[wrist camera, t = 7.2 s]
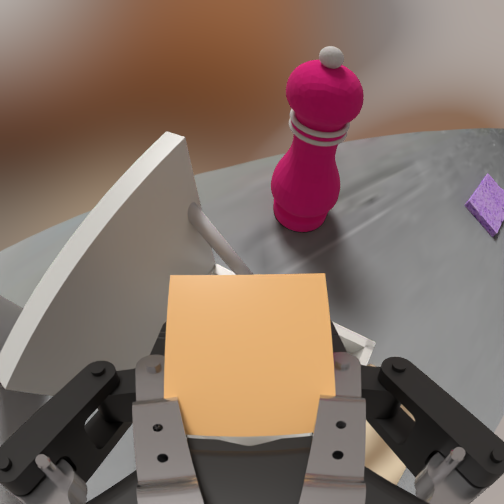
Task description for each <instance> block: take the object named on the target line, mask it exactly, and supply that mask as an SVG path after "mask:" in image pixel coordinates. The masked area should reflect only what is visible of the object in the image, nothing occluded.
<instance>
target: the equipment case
mask: <svg viewBox="0 0 504 504" xmlns="http://www.w3.org/2000/svg"><path fill="white" fill-rule="evenodd" d="M211 247H212V248H213V249H214V250H215V252H216V253H217V254H218V255H219V256H220V257H221V258H222V260H223V261H224V262H225V263H226V264H227V265H228V266H229V268H230V269H231V270H232V271H233V272H232V271H230V270H228V269H226V268H224V267H222V266H220V265H218V264H216V263H215V259H214V256H213V252H212V248H211ZM170 275H254V274H253V273H252V272H251V271H250V269H249V268H248V267H247V266H246V265H245V263H244V262H243V261H242V260H241V258H240V257H239V256H238V255H237V254H236V252H235V251H234V250H233V249H232V247H231V246H230V245H229V244H228V243H227V241H226V240H225V239H224V238H223V236H222V235H221V234H220V233H219V231H218V230H217V229H216V228H215V227H214V225H213V224H212V223H211V222H210V220H209V219H208V218H207V217H206V215H205V214H204V213H203V212H202V208H201V204H200V200H199V196H198V192H197V187H196V183H195V179H194V174H193V170H192V166H191V161H190V157H189V152H188V148H187V143H186V139H185V137H183V136H180V135H176V134H173V133H170V132H165V133H164V134H163V135H162V136H161V137H160V138H159V139H158V140H157V141H156V142H155V143H154V144H153V145H152V146H151V147H150V148H149V149H148V150H147V151H146V152H145V153H144V154H143V155H142V156H141V157H140V158H139V159H138V160H137V161H136V162H135V163H134V164H133V165H132V166H131V167H130V168H129V169H128V170H127V171H126V172H125V173H124V174H123V175H122V177H121V178H120V179H119V180H118V181H117V182H116V183H115V184H114V186H112V188H111V189H110V190H109V191H108V192H107V193H106V195H105V196H104V197H103V198H102V199H101V200H100V202H99V203H98V204H97V205H96V206H95V207H94V209H93V210H92V211H91V212H90V213H89V215H88V216H87V217H86V218H85V220H84V221H83V222H82V223H81V225H80V226H79V227H78V228H77V230H76V231H75V232H74V234H73V235H72V236H71V238H70V239H69V240H68V242H67V243H66V244H65V246H64V247H63V249H62V250H61V251H60V253H59V254H58V256H57V257H56V258H55V260H54V261H53V263H52V264H51V266H50V267H49V269H48V270H47V272H46V273H45V275H44V276H43V278H42V279H41V281H40V282H39V284H38V285H37V287H36V289H35V290H34V292H33V293H32V295H31V297H30V298H29V300H28V302H27V303H26V305H25V307H24V309H23V310H22V312H21V314H20V316H19V317H18V319H17V321H16V323H15V325H14V327H13V329H12V330H11V332H10V334H9V336H8V338H7V340H6V342H5V344H4V346H3V348H2V350H1V352H0V382H1V384H2V385H3V387H4V388H5V389H7V390H13V391H19V392H25V393H32V394H40V395H49V396H54V395H55V394H56V393H57V392H58V391H60V390H61V389H62V388H63V387H64V386H65V385H66V384H67V383H68V382H69V381H70V380H72V379H73V378H74V377H75V376H76V375H77V374H78V373H79V372H80V371H81V370H82V369H84V368H85V367H86V366H87V365H88V364H90V363H92V362H95V361H108V362H110V363H112V364H113V365H114V366H115V369H116V371H120V370H128V369H134V368H135V367H136V364H137V362H138V361H139V360H140V359H141V358H143V357H145V356H148V355H150V353H151V351H152V349H153V346H154V344H155V342H156V339H157V338H158V335H159V332H160V330H161V328H162V326H163V324H164V323H165V322H166V321H167V308H168V295H169V283H170ZM333 324H334V326H335V328H336V330H337V332H338V336H340V338H341V340H342V342H343V345H344V347H345V349H346V351H347V353H350V354H352V355H354V356H356V357H357V358H358V359H359V361H360V364H361V365H365V366H367V363H368V361H369V358H370V356H371V353H372V351H373V348H374V346H375V343H376V342H374V341H372V340H370V339H368V338H366V337H364V336H362V335H359V334H357V333H355V332H353V331H351V330H349V329H347V328H345V327H343V326H341V325H338V324H336V323H334V322H333ZM188 436H189V438H198V439H218V440H222V441H226V442H231V443H236V444H241V445H246V446H253V445H258V444H262V443H266V442H270V441H274V440H278V439H281V438H293V437H304V436H310V433H303V434H292V435H277V436H251V437H227V436H201V435H188Z"/></svg>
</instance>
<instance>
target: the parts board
mask: <svg viewBox="0 0 504 504" xmlns="http://www.w3.org/2000/svg"><path fill="white" fill-rule="evenodd" d="M367 366H373V367H376V366H374V365H372V364H369V365H367ZM400 407H401V408H402V409H403V410H404V411H405V412H406V413H407V414H408V415H409V416H410V417H411V418H412V419H413V420H414V421H415V419H414V417H413V415H412V414H411V413H410V412H409V411H408V410H407V409H406V408H405V407H404V406H403V405H402V404H401V406H400ZM365 466H366V467H367V468H369V469H370V470H372V471H373V472H375V473H377V474H378V475H380V476H382V477H383V478H385V479H386V480H388V481H390V482H392V483H393V484H395V485H397V483H398V481H399V479H400V478H401V476H402V474H403V472H404V470H405V468H406V466H405V465H404V464H403V462H402V461H401V460H400V459H399V458H398V457H397V455H396V454H395V453H394V452H393V451H392V450H391V448H390V447H389V446H388V445H387V444H386V443H385V442H384V440H383V439H382V438H381V437H380V436H379V434H378V433H377V432H376V431H375V430H374V429H373V427H372V426H371V425H370V424H369V423H368V422H367V420H366V445H365Z"/></svg>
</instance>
